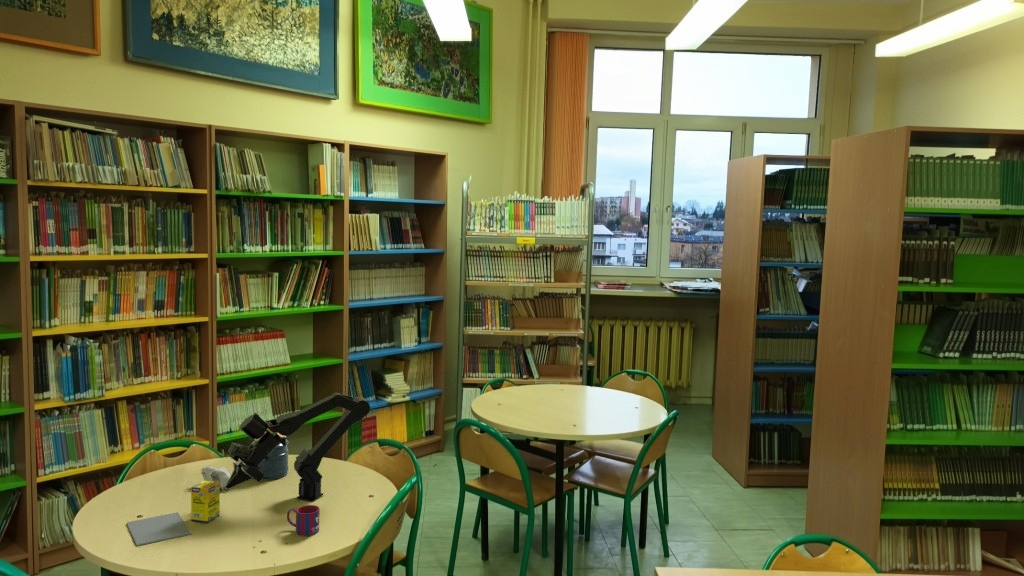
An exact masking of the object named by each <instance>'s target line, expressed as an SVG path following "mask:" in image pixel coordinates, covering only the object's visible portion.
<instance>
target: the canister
mask: <svg viewBox="0 0 1024 576" xmlns="http://www.w3.org/2000/svg"><path fill="white" fill-rule="evenodd" d="M267 430H268V431H269V432H270V433H273V432H272V431H270V430H269V429H267ZM264 434H265V433H264ZM277 434H278V435H279V436H281V437H286V446H283V445H282V444H281V443H279V444H278V445H277V446H276V448H275V449H274V450H273V451H272V452H271V453H269V455H268V456H267V457H269V459H268V460H266V459H265V460H264V461H263V462H262V463H261V464H260V465H259V466H258V467H259V468H260V469H259V470H260V471H261V472H262V473H263V474H264V478H263V479H262V481H269V480H270V481H272V480H277V479H281V478H283V477H285V476H287V475H288V473H289V472H288V471H289V452H290V451H289V449H288V444H289V440H288V439H287V436H283V435H281V434H279V433H277ZM259 439H260V438H259ZM259 439H254V440H253V441H252V442H251V443H250V444H253V445H254V444H255V443H256V442H257V441H258V440H259ZM257 444H258V443H257ZM258 445H259V444H258Z"/></svg>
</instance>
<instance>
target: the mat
mask: <svg viewBox="0 0 1024 576" xmlns="http://www.w3.org/2000/svg"><path fill="white" fill-rule="evenodd" d="M126 524H127V525H126V526H127V528H128V530H129V532H130V534H131V537H132V538H133V541H134V543H135V546H136V547H139V546H145V545H149V544H153V543H158V542H164V541H167V540H171V539H176V538H180V537H181V538H182V537H186V536H190V535H192V532H191V531H190V529H189V528H188V526H187V524H186V523H185V521H184V519H183V518H182V517H181V515H180V513H179V511H178V512H171V513H167V514H163V515H156V516H152V517H146V518H142V519H136V520H132V521H127V522H126Z"/></svg>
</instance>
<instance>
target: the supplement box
mask: <svg viewBox="0 0 1024 576" xmlns="http://www.w3.org/2000/svg"><path fill="white" fill-rule="evenodd" d="M190 489H191V492H190V493H191V494H190V497H191V499H190V522H194V523H200V524H210V523H211V522H212V521H213V520H215V519H217V518H219V517H220V499H221V495H220V494H221V493H220V489H221V488H220V483H219V482H211V481H204V480H202V481H201V482H198V483H197V484H195V485H192V486H191V487H190Z"/></svg>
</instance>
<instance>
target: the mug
mask: <svg viewBox="0 0 1024 576" xmlns="http://www.w3.org/2000/svg"><path fill="white" fill-rule="evenodd" d="M290 512H294V513H295V523H294V522H293V521H292V520H291V517H290ZM286 520H287V522H288V523H289V524H290V525H291V526H292V527H295V534H296V535H297V536H300V537H311V536H314V535H316V534H317V533H319V532H320V507H319V506H318V505H314V504H306V505H305V504H304V505H302V506H298V507H297V508H290V509H289V510H288V511H287V512H286Z"/></svg>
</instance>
